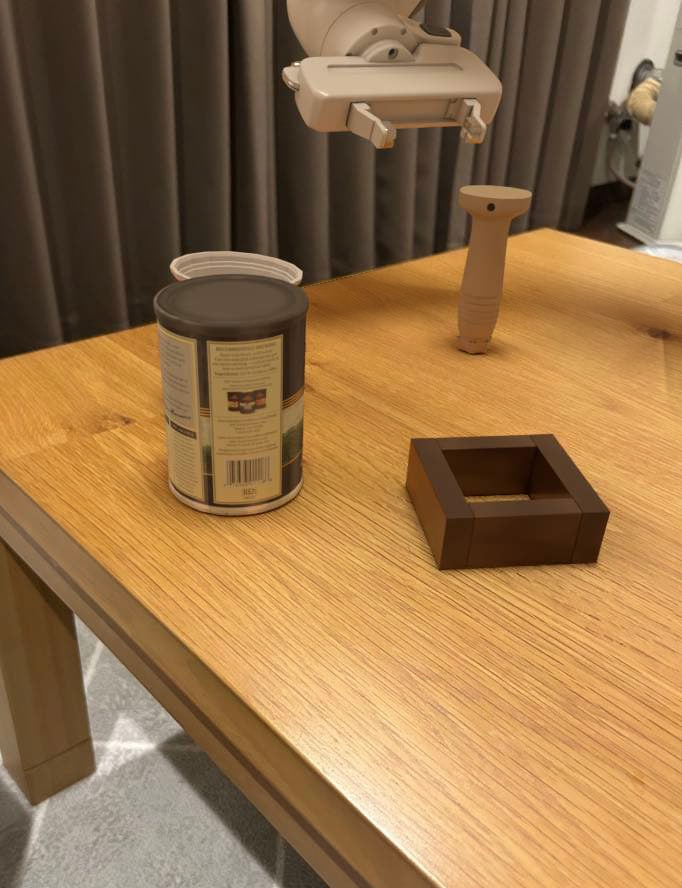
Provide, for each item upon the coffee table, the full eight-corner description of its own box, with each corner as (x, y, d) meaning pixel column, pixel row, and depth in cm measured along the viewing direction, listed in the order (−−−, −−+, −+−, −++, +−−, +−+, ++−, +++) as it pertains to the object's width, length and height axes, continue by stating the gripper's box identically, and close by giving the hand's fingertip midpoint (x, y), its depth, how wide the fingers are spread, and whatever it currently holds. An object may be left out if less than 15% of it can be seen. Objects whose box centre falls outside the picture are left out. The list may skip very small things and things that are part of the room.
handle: (502, 362, 84) (529, 201, 76) (436, 353, 86) (455, 194, 77) (507, 344, 88) (534, 189, 79) (445, 336, 90) (464, 183, 81)
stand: (542, 480, 66) (552, 433, 63) (596, 562, 57) (610, 511, 55) (405, 485, 65) (410, 438, 63) (439, 569, 56) (446, 518, 54)
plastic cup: (323, 409, 75) (329, 271, 68) (212, 438, 71) (207, 294, 64) (261, 365, 83) (261, 238, 76) (158, 389, 78) (148, 255, 72)
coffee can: (248, 435, 71) (246, 263, 63) (331, 486, 65) (341, 301, 57) (140, 473, 66) (123, 291, 58) (219, 533, 59) (212, 337, 51)
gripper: (280, 30, 80) (337, 108, 73) (469, 29, 87) (539, 100, 79) (270, 98, 85) (323, 177, 78) (450, 92, 92) (513, 165, 84)
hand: (433, 138), depth 79 cm, fingers open, 8 cm apart
